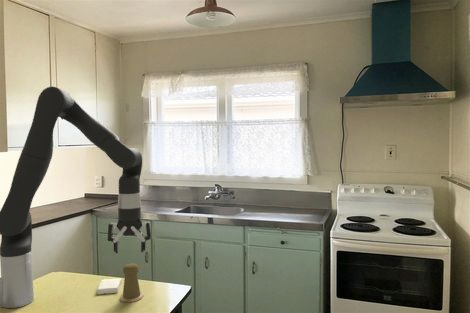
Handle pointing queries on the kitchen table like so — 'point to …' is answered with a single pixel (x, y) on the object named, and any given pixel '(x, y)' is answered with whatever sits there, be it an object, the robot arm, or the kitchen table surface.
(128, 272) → the pepper shaker
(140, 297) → the disc
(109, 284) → the tile
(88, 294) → the kitchen table surface
